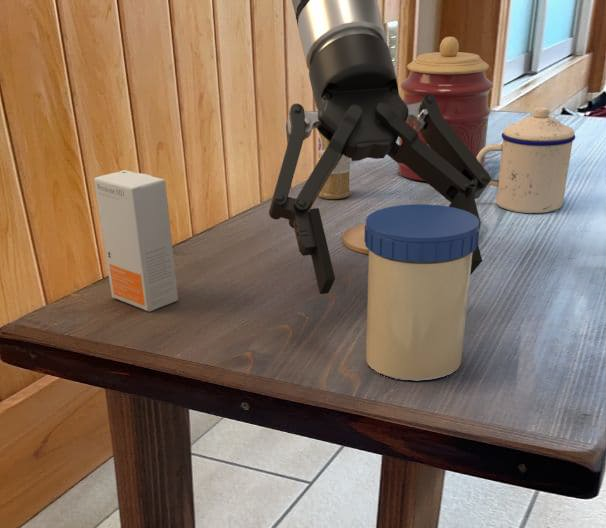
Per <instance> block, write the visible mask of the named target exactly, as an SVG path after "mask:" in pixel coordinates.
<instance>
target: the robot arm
mask: <svg viewBox="0 0 606 528" xmlns="http://www.w3.org/2000/svg"><path fill="white" fill-rule="evenodd" d="M291 3H292V7H293V11H294V15H295V20H296V24H297V28H298V34H299V39H300V43H301V48H302V51H303V55H304V60H305V64H306V68H307V69H308V78H309V82H310V86H311V91H312V94H313V99H314V103H315V107H316V110H305V108H304V106H303V105H302V104H300V103H293V104H292V105H291V106H290V108H289V113H288V116H287V120H286V124H285V131H286V132H285V133H286V140H287V141H286V142H287V146H286V149H285V153H284V155H283V159H282V163H281V167H280V170H279V174H278V177H277V180H276V185H275V187H274V192H273V195H272V199H271V203H270V205H269V209H268V215H269V217H270V218H271V219H273V220H279V219H281V218H282V219H286V220H288V225H289V226H290V227H291V228H292V229H293V230H294V233H295V239H296V242H297V247H298V251H299V253H300V254H301V256H302V257H306V256H310V257H311V261H312V262H311V263H312V265H313V269H314V275H315V278H316V283H317V287H318V292H319V295H325V294H329V293H330V290H331V289H332V286H333V285H334V282H335V281H336V277H335V271H334V267H333V264H332V263H333V262H332V259H331V255H330V252H329V251H330V250H329V247H328V246H329V245H328V241H327V237H326V233H325V230H324V229H325V228H324V225H323V220H322V215H321V212H320V208H319V207H315V208H312V207H313V205H314V203H315V202H316V200H317V198H318V197H319V193H320V192H321V190H322V188H323V186H324V185H325V183H326V181H327V180H328V178H329V176H330V175H331V173H332V171H333V170H334V169H335V167H336V166H337V164H338V162H339V161H340V159H341V157H342V156H343V155H344V156H346V157H348V158H350V161H351V162H357V161H363V160H365V159H367V158H368V159H373V160H374V159H375V160H379V159H385V157H386V156H388V157H389V158H390V159H392V161H394V162H395V163H404V164H405V165H406V166H407V167H408V168H410V169H411V170H412V171H413V172H415V173H416V174H417V175H418V176H419V177H421V178H422V179H423V180H424V181H423V182H425V183H426V184H428V185H429V186H430V187H431V188H432V189H434V190H435V191H436V192H437V193H439V194H440V195H441V196H442V197H443V198H445V199H446V200H447V201H448V202H450V204H449V205H448V207H453V208H458V209H461V210H464V211H467V212H470V213H472V214H473V215H475V216H476V217H477V218H478V219H479V227H480V228H481V225H482V224H481V222H482V221H481V218H480V214H479V211H478V207H477V202H476V200H478V199H479V198H480V197H481V195H482V194H483V192H484V191H485V190H486V189H487V187H488V186H489V185H488V184H489V183H490V180H491V179H492V178H491V175H490V174H489V173H488V172H487V170H486V168H485V167H483V166H482V165H481V164H480V163H479V161H478V160H477V159H476V158H475V156H474V155H473V154H472V152H471V151H470V150H469V149H468V147H467V146H466V145H465V144H464V142H463V141H462V140H461V139H460V137H459V136H458V135H457V134H456V132H455V131H454V130H453V129H452V127H451V126H450V125H449V124H448V122H447V121H446V120H445V119H444V117H443V116H442V114H441V112H440V109H439V106H438V104H437V101H436V99H435V97H434V96H433V95H431V94H426V95H425V96H424V97H423V100H422V101H421V102H418V103H413V104H408V105H406V103H405V102H404V101H403V97H401V95H400V92H399V91H400V90H399V83H398V78H397V74H396V69H395V67H394V63H393V62H394V61H393V59H392V54H391V50H390V47H389V45H388V39H387V35H386V30H385V26H384V23H383V19H382V14H381V11H380V7H379V4H378V0H291ZM406 121H410V122H412V123H413V124H414V129H415V130H414V129H413V128H412V127H411V126H410V125H408V124H407V123H406ZM314 129H316V130H317V131H318V133H319V132H320V133H321V134H322V135H323V136H324V137H325V138H326V139H327V140H328V141H329V142H330V143H329V145H328V147H327V148H326V150H325V152H324V153H323V155H322V157H321V158H320V160H319V162H318V161H317V163H316V165H315V167H314V168H313V170H312V171H311V172H310V175H309V177H308V178H307V179H306V182H305V183H304V185H303V187H302V188H301V190H300V192H299V193H298V195H297V196H296V197H295V198H294V197H291V196H289V194H290V190H291V187H292V184H293V179H294V175H295V172H296V168H297V165H298V162H299V157H300V154H301V151H302V147H303V144H304V141H305V140H306V139H309V138H310V136H311V134H312V132H313V130H314ZM419 130H420V132H421V134H422V136H423V138H424V139H425V141H426V142H427V143H428V145H429V146H430V147H431V148H432V149H431V148H430V147H429V146H428V145H427V144H425V143H424V142H423V141H422V140H420V139H419V137H418V133H417V132H416V131H419ZM399 137H400V138H401V139H402V144H401V146H400V145H399V143H398V142H397V141H398V140H399ZM480 250H481V249H480V247H479V243H478V244H477V248H476V249H475V250H474V251H473V253H472V263H471V273H470V276H472V274H473V273H474V272H475V271H476V269H477V268H478V267H479V266H480V265H481V263H482V262H483V258H482V254H481V251H480Z"/></svg>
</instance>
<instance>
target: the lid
mask: <svg viewBox="0 0 606 528" xmlns="http://www.w3.org/2000/svg"><path fill="white" fill-rule="evenodd" d="M365 223H366V226H365V237H364V242H365V244H366V247H367V248H368V249H369V250H370V251H371V252H373V253H375V254H377V255H379V256H382V257H386V258H390V259H394V260H400V261H408V262H440V261H448V260H453V259H458V258H461V257H464V256H467V255H469V254H471V253H472V252H473V251H474V250H475V249H476V248H477V244H478V245H479V239H480V230H481V226H480V227H479V219H478V218H477V217H476V216H475V215H473V214H472V213H470V212H467V211H464V210H461V209H458V208H453V207H449V205H448V206H447V205H439V204H428V203H427V204H423V203H419V204H415V203H414V204H401V205H400V204H399V205H393V206H388V207H383V208H380V209H377V210H375V211H372V212H371V213H370V214H368V215H367V217H366V219H365Z"/></svg>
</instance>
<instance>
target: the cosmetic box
mask: <svg viewBox="0 0 606 528" xmlns="http://www.w3.org/2000/svg"><path fill="white" fill-rule="evenodd" d="M93 183H94V189H95V196H96V202H97V203H96V204H97V209H98V210H97V211H98V215H99V222H100V228H101V236H102V241H103V242H102V243H103V249H104V255H105V261H106V268H107V273H108V280H109V287H110V293H111V298H112V299H114V300H115V299H116V300H119V301H121V302H124V303H126V304H128V305H132V306H134V307H136V308H139V309H142V310H144V311H145V312H149V313H151V312H153V311H155V310H157V309H160V308H162V307H165V306H168V305H170V304H172V303H175V302H177V301H179V296H178V295H179V294H178V286H177V284H178V283H177V277H176V269H175V258H174V250H173V248H174V247H173V239H172V238H173V237H172V232H171V230H172V229H171V222H170V212H169V203H168V193H167V192H168V191H167V184H166V179H164V178H160V177H157V176H152V175H150V174H148V173H142V172H141V173H140V172H135V171H132V170H127V169H124V170H120V171H116V172H111V173H108V174H107V173H106V174H103V175H100V176H96V177H93Z"/></svg>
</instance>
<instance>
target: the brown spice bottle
mask: <svg viewBox="0 0 606 528" xmlns="http://www.w3.org/2000/svg"><path fill="white" fill-rule="evenodd" d="M317 135H318V139H317V141H318V146H317V147H318V153H317V154H318V160H317V163H318V162H319V160H320V158H321V157H322V155H323V153H324V152H325V150H326V148H327V147H328V145H329V143H330V142H329V141H328V140H327V139H326V138H325V137H324V136H323V135H322V134H321V133H320V132H319V131H318V134H317ZM350 171H351V158H348V157H346V156H344V155H343V156H342V157H341V159H340V161H339V162H338V164H337V166H336V167H335V169H334V170H333V171H332V173H331V175H330V176H329V178H328V180H327V181H326V183H325V185H324V186H323V188H322V190H321V192H320V193H319V195H318V197H320V198H322V199H325V200H339V199H344V198H348V197H349V196H350V194H351V190H350Z"/></svg>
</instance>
